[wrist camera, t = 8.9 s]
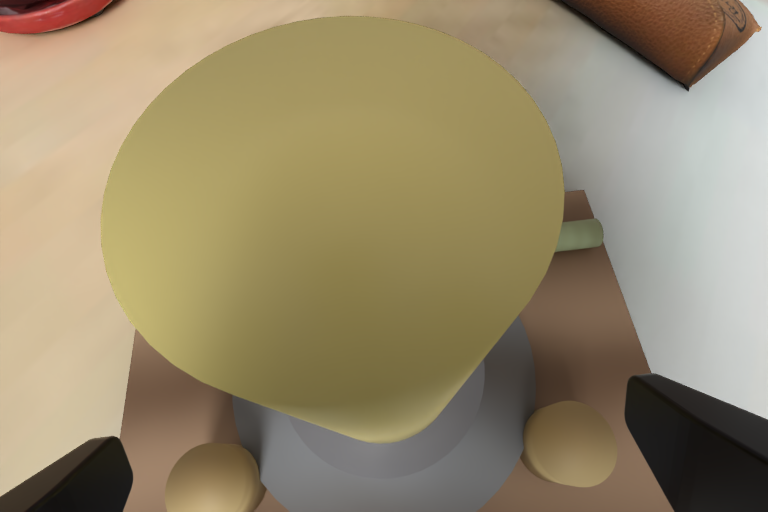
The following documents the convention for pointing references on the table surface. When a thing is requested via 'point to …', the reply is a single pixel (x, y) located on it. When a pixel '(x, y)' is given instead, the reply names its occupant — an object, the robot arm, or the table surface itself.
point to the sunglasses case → (675, 31)
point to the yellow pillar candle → (338, 230)
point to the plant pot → (46, 14)
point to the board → (473, 453)
